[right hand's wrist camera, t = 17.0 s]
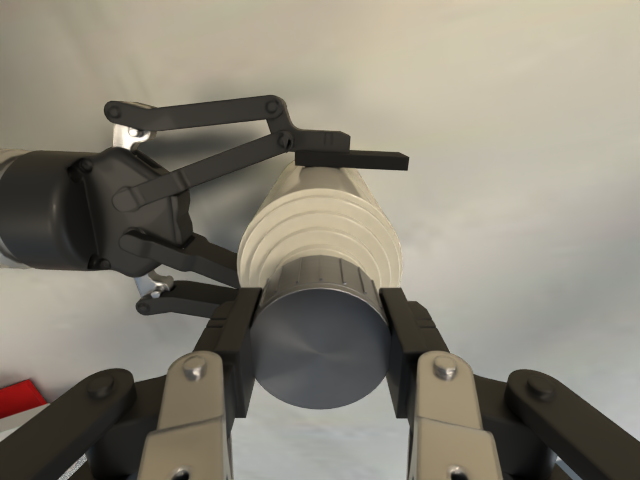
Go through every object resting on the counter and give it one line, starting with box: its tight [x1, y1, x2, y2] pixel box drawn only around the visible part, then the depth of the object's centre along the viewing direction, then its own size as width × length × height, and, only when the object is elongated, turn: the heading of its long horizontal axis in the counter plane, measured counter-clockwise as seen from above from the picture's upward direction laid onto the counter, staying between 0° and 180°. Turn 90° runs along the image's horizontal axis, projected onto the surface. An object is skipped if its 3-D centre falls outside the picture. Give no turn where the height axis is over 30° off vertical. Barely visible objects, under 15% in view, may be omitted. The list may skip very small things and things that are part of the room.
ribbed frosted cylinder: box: [237, 160, 403, 294], centre depth 19 cm, size 8×8×19 cm
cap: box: [250, 255, 392, 409], centre depth 11 cm, size 4×4×2 cm
